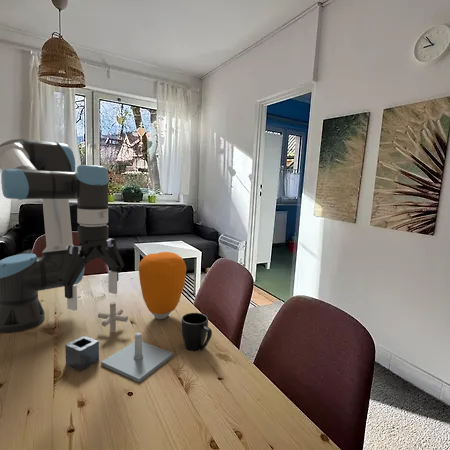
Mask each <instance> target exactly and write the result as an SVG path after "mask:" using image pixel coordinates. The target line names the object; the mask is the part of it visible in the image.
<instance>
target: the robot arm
mask: <svg viewBox="0 0 450 450" xmlns="http://www.w3.org/2000/svg"><path fill="white" fill-rule="evenodd" d="M0 170H2V171H1V175H0V176H1V178H0V179H1V191H2V196H3V197H4V198H6V199H9V200H10V199H11V200H13V199H14V200H19V201H20V200H21V201H22V200H42V208H43V220H44V222H43V223H44V232H45V233H44V234H45V242H46V243H45V244H46V245H45V248H44V249H43V251H42V252H41V253H42V256H41V257H40V256H39V257H38V256H37V255H36V254H35V253H20V254H16V255H15V254H13V255H11V256H8V257H7V256H6V257H5V258H3V259H0V333H2V334H5V333H6V334H8V333H9V334H10V333H12V334H13V333H18V332H23V331H27V330H30V329H33V328H35V327H37V326H39V325H41V324H42V323H43V322H44V321H45V318H46V317H45V314H46V313H45V310H44V308H43V305H42V303H41V301H40V299H39V292H41V291H47V290H51V289H58V288H62V287H64V297H65V299H66V301H67V302H66V305H67V306H66V307H67V308H66V309H68V310H71V311H77V310H78V288H77V287H78V284H80V283H81V282H82V280H83V278H84V274H85V269H86V268H85V267H86V265H87V264H89V262H90V261H92V260H93V261H94V260H95V259H101V260H102V261H103V262H104V263H105V264H106V265H107V267H108V268H109V269H110V270H108V274H107V275H108V279H107V280H108V285H107V286H108V293H109V294H114V295H117V294H118V282H119V273H120V272H122V269H123V268H124V267H125V263H124V262H123V258H122V256H121V254H120V251H119V249H118V247H117V239H115V238H110V237H109V225H107V224H108V223H109V183H110V180H109V172H108V171H109V170H108V168H107V167H106V166H102V165H91V164H86V165H85V164H78V166H77V167H76V158H75V154H74V151H73V149H72V148H71V146H70V145H68V144H66V143H63V142H62V143H61V142H57V141H47V140H37V139H36V140H35V139H28V138H16V139H15V138H14V139H10V140H7V141H4V142H2V143H1V144H0ZM70 200H77V204H76V205H77V208H76V211H77V212H76V214H77V215H76V216H77V224H78V225H77V238H78V240H79V243H78V245H74V244H73V233H72V223H71V209H70Z"/></svg>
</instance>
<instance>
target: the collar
mask: <svg viewBox="0 0 450 450" xmlns="http://www.w3.org/2000/svg"><path fill="white" fill-rule="evenodd" d="M64 348H65V366H67V367H68V368H71V369H73V370H75V371H76V372H79V373H82V372H83V371H84V370H86V369H88V368H90V367H92V366H93V365H95V364H96V363H98V362H100V342H99V340H97V339H94V338H92V337H90V336H87V335H82V336H80V337H78V338H76V339H74V340H72V341H70V342H68V343H66V344H65V347H64Z"/></svg>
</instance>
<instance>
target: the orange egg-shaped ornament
mask: <svg viewBox="0 0 450 450" xmlns="http://www.w3.org/2000/svg"><path fill="white" fill-rule="evenodd" d="M138 274H139V275H138V276H139V283H140V290H141V294H142V298H143V301H144V303H145V306H146V308H147V310H148V312H150V313H151V315H153V317H154V318H155V319H157V320H162V319H163V320H164V319H166V318H167V317H168V316H169V315H170V314H171V313H172V312H173V311H174V310H175V309H176V308H177V307H178V305H179V303H180V299H181V296H182V293H183V290H184V288H185V284H186V283H185V282H186V281H185V280H186V275H187V264H186V262H185V260H184V258H183V257H182V256H180V255H178V254H177V253H175V252H171V251H170V252H169V251H160V252H154V253H149V254H146V255H145V256H144V257H143V258H142V259H141V260H140V262H139V264H138Z"/></svg>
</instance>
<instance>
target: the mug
mask: <svg viewBox="0 0 450 450" xmlns="http://www.w3.org/2000/svg"><path fill="white" fill-rule="evenodd" d="M212 331H213V330H212V329H211V328H210V327H209V317H208V315H207V314H204V313H201V312H190V313H186V314H184V315H183V316H182V317H181V336H182V340H183V344H184V348H185V350H187V351H189V352H199V351H203V350H205V348H206V347H207V345H208V343H209V342H210V340H211V339H212V335H213V332H212Z"/></svg>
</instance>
